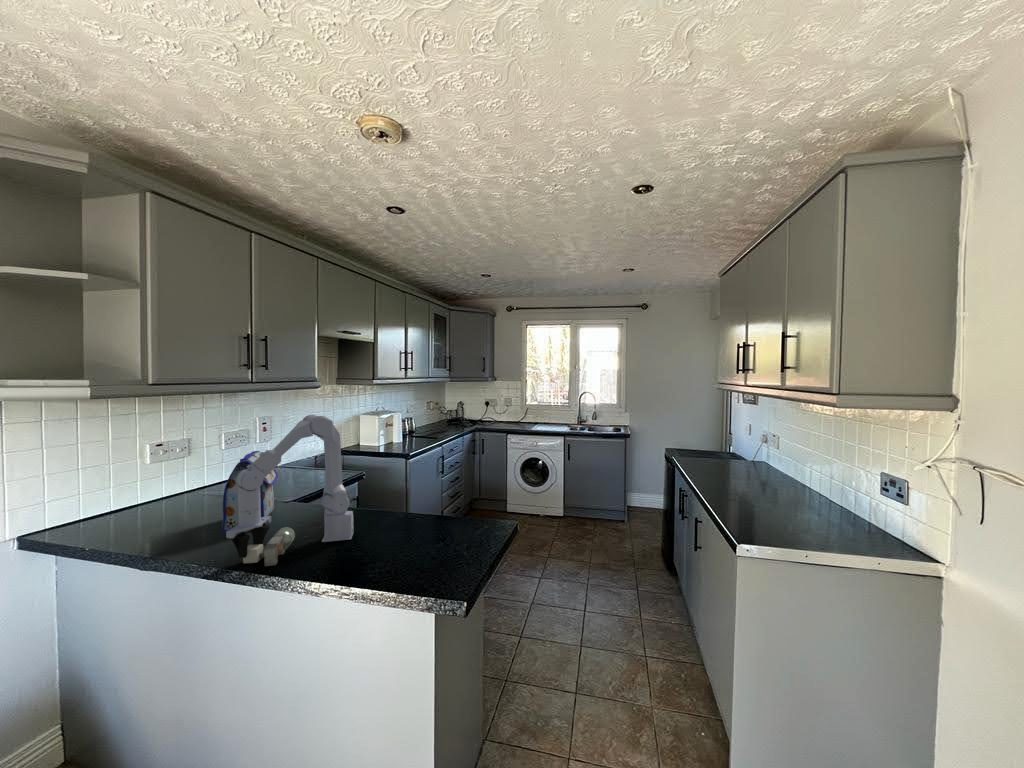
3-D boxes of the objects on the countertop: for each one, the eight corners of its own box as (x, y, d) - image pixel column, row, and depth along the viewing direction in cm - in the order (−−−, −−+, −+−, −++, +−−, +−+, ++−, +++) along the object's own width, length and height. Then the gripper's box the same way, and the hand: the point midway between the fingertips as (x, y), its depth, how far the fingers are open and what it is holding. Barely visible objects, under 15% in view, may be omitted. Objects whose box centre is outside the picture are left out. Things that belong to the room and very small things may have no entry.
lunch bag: (271, 528, 158) (270, 457, 158) (219, 534, 152) (218, 460, 152) (280, 511, 179) (279, 448, 179) (234, 516, 173) (233, 451, 173)
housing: (295, 543, 143) (294, 526, 143) (280, 564, 127) (280, 545, 127) (276, 545, 142) (276, 528, 142) (259, 566, 125) (259, 547, 125)
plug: (278, 555, 132) (278, 543, 132) (273, 561, 128) (272, 548, 128) (249, 557, 131) (249, 544, 131) (243, 563, 127) (242, 550, 127)
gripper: (239, 517, 121) (240, 564, 121) (279, 503, 135) (279, 545, 135) (220, 515, 123) (220, 562, 123) (260, 501, 137) (261, 543, 137)
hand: (250, 553), depth 129 cm, fingers closed on plug, 5 cm apart
